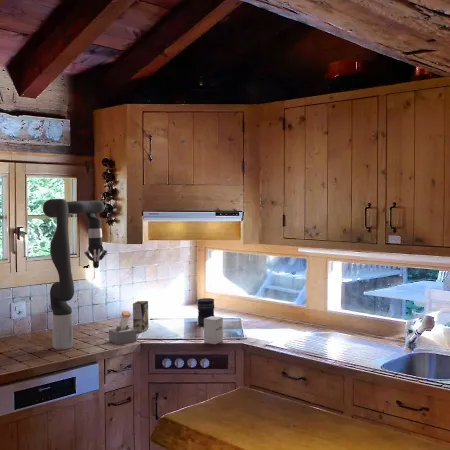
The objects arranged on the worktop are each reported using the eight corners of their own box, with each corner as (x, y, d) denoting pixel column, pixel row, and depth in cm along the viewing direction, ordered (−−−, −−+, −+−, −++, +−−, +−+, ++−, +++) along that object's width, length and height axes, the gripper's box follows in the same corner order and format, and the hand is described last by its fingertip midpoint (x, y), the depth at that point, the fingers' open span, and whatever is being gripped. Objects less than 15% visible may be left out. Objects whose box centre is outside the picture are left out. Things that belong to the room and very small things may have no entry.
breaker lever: (117, 327, 293) (122, 311, 288) (124, 326, 295) (128, 310, 290) (120, 331, 291) (124, 315, 286) (126, 330, 293) (130, 314, 288)
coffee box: (143, 332, 312) (143, 303, 311) (132, 331, 313) (132, 303, 313) (149, 328, 321) (148, 300, 320) (138, 328, 322) (137, 300, 322)
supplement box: (215, 344, 283) (215, 319, 283) (203, 342, 287) (203, 318, 286) (223, 341, 289) (223, 317, 289) (211, 339, 293) (211, 315, 293)
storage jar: (204, 327, 321) (204, 301, 320) (194, 324, 328) (194, 299, 328) (218, 324, 327) (217, 299, 326) (208, 322, 335) (207, 297, 334)
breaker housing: (109, 341, 294) (108, 325, 294) (128, 337, 300) (127, 322, 300) (117, 344, 286) (116, 329, 285) (136, 341, 292) (136, 325, 292)
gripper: (86, 237, 300) (87, 269, 301) (109, 236, 308) (110, 267, 309) (81, 237, 306) (82, 268, 307) (103, 235, 314) (104, 266, 315)
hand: (96, 268), depth 308 cm, fingers closed
